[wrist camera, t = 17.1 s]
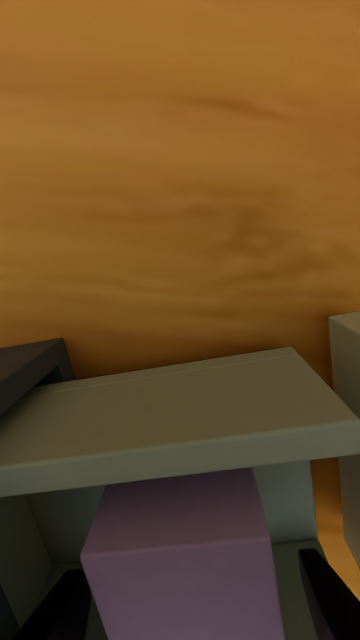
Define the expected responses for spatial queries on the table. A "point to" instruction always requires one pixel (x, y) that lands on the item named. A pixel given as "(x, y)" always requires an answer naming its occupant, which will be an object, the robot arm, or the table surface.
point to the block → (184, 560)
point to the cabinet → (7, 388)
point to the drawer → (179, 457)
